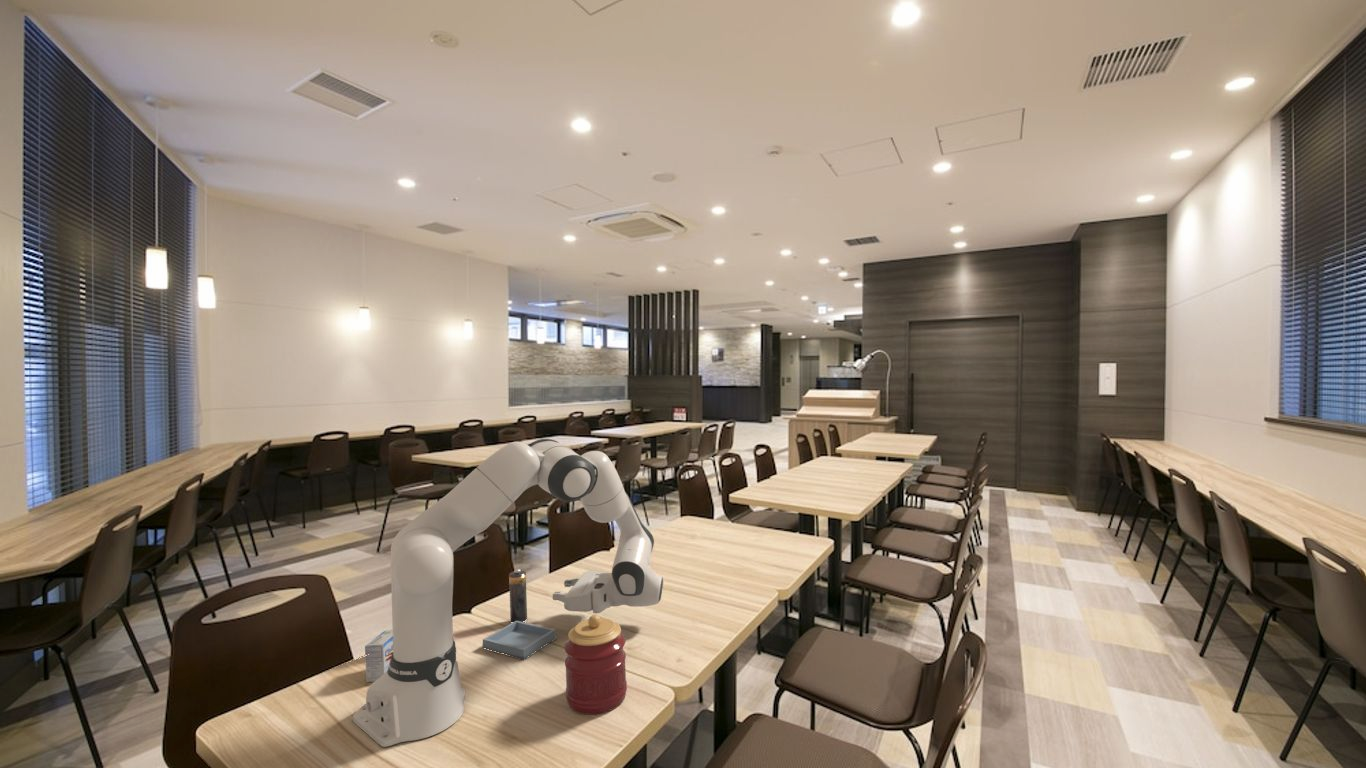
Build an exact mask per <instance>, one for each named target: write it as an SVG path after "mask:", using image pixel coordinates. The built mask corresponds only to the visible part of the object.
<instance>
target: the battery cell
mask: <svg viewBox="0 0 1366 768" xmlns="http://www.w3.org/2000/svg"><path fill="white" fill-rule="evenodd" d="M508 579H509V580H508V581H509V583H508V584H509V612H510V615H509V616H510V620H509V621H510V623H511V622H515V621H521V622H523V621H525V620H526V619H527V620H528V605H527V604H528V601H527V573H526V571H525V570H521V568H515V569H514V571H511V572H509V574H508Z"/></svg>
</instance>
